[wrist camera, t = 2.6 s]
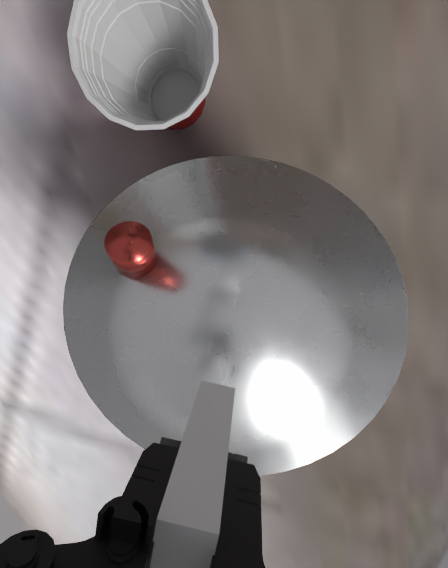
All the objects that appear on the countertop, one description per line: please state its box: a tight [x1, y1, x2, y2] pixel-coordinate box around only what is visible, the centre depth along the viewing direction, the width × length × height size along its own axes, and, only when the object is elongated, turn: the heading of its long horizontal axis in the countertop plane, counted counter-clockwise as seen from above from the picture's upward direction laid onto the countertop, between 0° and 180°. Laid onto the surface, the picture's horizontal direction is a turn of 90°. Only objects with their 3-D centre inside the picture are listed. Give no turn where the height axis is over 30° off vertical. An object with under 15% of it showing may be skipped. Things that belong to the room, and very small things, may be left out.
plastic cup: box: [67, 0, 219, 130], centre depth 28 cm, size 11×11×12 cm
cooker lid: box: [63, 156, 409, 476], centre depth 17 cm, size 23×19×4 cm
